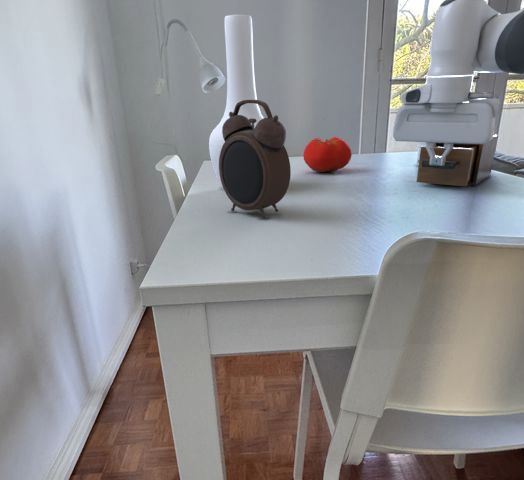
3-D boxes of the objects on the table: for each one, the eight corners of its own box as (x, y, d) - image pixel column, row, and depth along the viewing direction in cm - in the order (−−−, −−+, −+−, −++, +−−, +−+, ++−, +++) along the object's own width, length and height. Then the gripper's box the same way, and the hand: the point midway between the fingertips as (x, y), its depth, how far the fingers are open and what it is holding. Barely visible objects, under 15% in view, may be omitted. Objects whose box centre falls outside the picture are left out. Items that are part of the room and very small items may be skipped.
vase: (210, 195, 110) (194, 12, 92) (214, 182, 124) (202, 21, 107) (281, 192, 110) (279, 9, 93) (277, 179, 124) (275, 19, 107)
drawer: (460, 190, 102) (466, 151, 99) (409, 185, 108) (413, 149, 104) (481, 176, 115) (487, 142, 111) (434, 173, 121) (439, 140, 117)
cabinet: (475, 185, 110) (483, 141, 106) (422, 181, 117) (428, 139, 112) (490, 176, 121) (498, 135, 116) (440, 172, 127) (446, 133, 122)
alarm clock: (216, 211, 96) (207, 100, 86) (242, 205, 100) (236, 98, 90) (268, 223, 87) (265, 100, 77) (294, 215, 91) (294, 98, 81)
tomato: (293, 174, 131) (293, 140, 127) (311, 167, 141) (311, 135, 136) (340, 177, 126) (342, 141, 121) (355, 169, 135) (357, 136, 131)
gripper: (506, 91, 92) (491, 165, 99) (404, 93, 103) (397, 160, 110) (498, 92, 88) (483, 170, 95) (393, 94, 98) (387, 164, 105)
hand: (436, 165), depth 102 cm, fingers closed, pressing on drawer
